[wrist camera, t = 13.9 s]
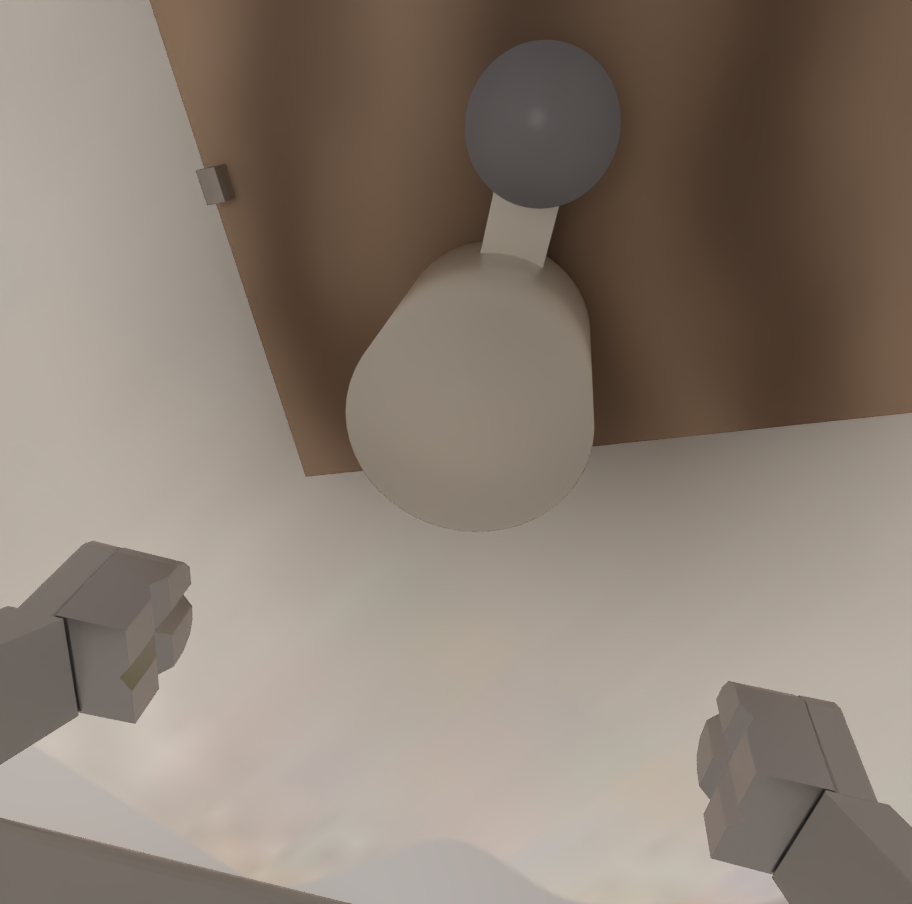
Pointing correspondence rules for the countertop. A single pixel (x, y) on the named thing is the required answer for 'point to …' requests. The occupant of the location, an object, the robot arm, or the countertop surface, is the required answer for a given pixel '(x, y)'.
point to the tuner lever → (496, 316)
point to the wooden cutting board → (586, 218)
